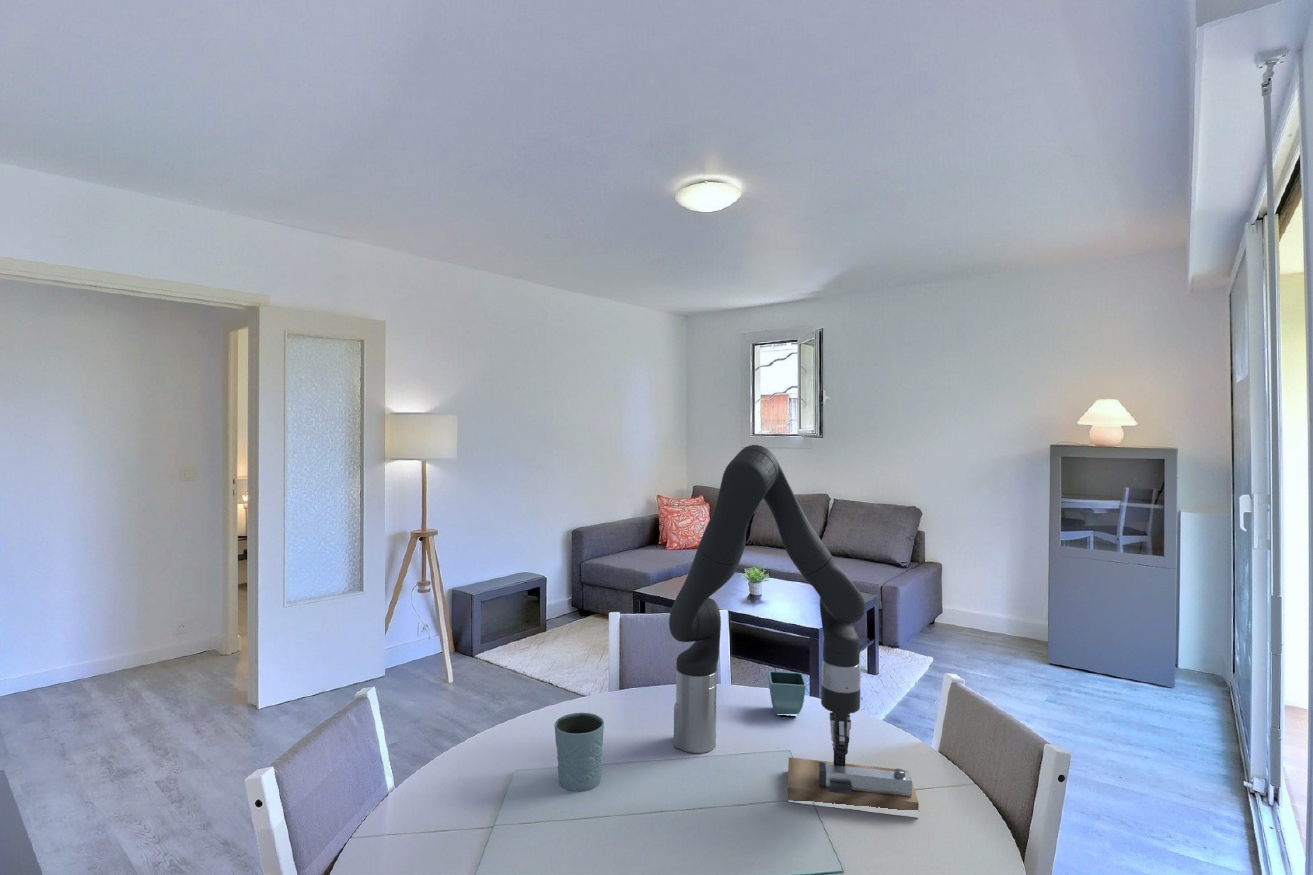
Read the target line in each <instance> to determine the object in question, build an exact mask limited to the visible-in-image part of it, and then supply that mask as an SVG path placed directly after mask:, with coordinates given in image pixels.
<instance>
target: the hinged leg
mask: <svg viewBox="0 0 1313 875" xmlns="http://www.w3.org/2000/svg"><path fill="white" fill-rule="evenodd" d="M894 769H895V770H894V771H886V770H877V769H867V768H857V767H848V766H838V765H828V764H825V763H823V762H819V786H820V787H824V788H826V787H829V788H830V782H837V783H846V784H852V790H856V791H865V792H874V793H884V794H893V795H902V796H911V797H912V784H913V780H912V777H911V774H910V772H909V773H906V772H905V771H904V770H905V769H902V768H894Z"/></svg>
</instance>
